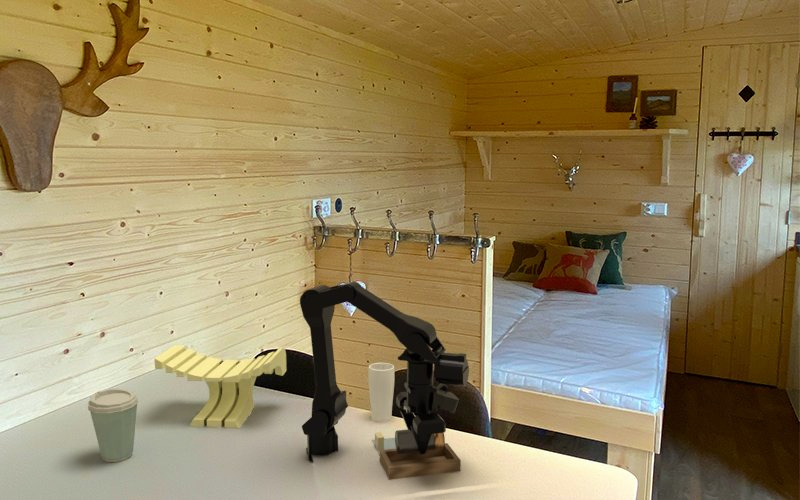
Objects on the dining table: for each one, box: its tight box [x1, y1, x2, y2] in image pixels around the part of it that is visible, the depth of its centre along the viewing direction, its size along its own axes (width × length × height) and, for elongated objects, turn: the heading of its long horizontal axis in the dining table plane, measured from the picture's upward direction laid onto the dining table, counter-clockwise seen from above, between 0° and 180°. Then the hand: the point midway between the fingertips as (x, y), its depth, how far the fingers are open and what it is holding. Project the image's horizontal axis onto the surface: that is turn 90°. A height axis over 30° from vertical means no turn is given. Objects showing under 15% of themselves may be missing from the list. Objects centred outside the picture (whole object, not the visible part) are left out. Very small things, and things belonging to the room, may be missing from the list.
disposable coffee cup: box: [87, 387, 139, 463], centre depth 150 cm, size 11×11×15 cm
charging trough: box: [379, 442, 462, 481], centre depth 145 cm, size 16×9×4 cm, turn 105°
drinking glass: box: [368, 362, 395, 423], centre depth 172 cm, size 7×7×15 cm
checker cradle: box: [371, 431, 396, 457], centre depth 156 cm, size 15×9×4 cm, turn 105°
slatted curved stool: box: [154, 344, 287, 429], centre depth 175 cm, size 30×16×18 cm, turn 85°
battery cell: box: [394, 428, 446, 454], centre depth 145 cm, size 10×5×5 cm, turn 104°
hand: (419, 448), depth 145 cm, fingers closed on battery cell, 5 cm apart
